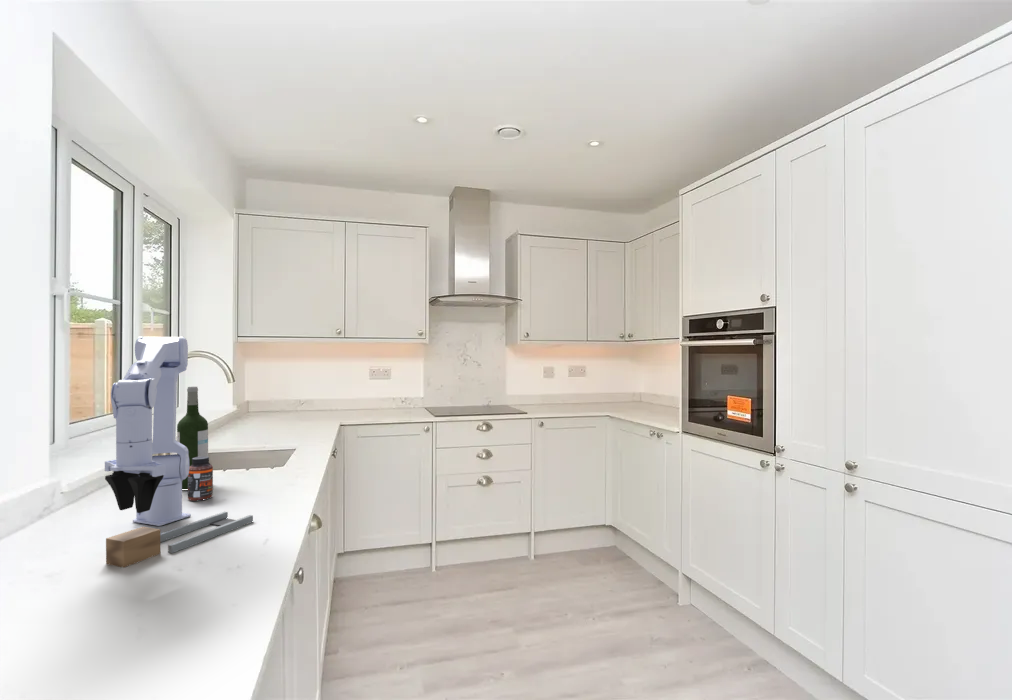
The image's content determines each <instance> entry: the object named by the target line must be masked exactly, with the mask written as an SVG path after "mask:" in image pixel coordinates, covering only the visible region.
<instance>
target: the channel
mask: <svg viewBox="0 0 1012 700" xmlns="http://www.w3.org/2000/svg"><path fill="white" fill-rule="evenodd" d="M228 513H229V511H221V512H219V513H215V514H214V515H210V516H208V517H204V518H201V519H198V520H196V521H193V522H190V523H187V524H184V525H181V526H178V527H175V528H173V529H170V530H166V531H164V532H160V543H162V542H165V541H167V540H171V539H173V538H177V537H179V536H181V535H185V534H187V533H191V532H193V531H195V530H199V529H201V527H202V528H204V527H208V526H209V524H210V526H214V525H216V526H215V527H214V528H211V529H208V530H206V531H203V532H200V533H197V534H194V535H191V536H190V537H189V536H188V537H186V538H183V539H181V540H178V541H175V542H173V543H170V544H168V547H167V548H168V551H167V553H169V554H174V553H176V552H178V551H181V550H184V549H186V548H189V547H191V546H193V545H198V544H199V543H201V542H202V543H203V542H204V540H205V541H208V540H209V539H212V538H215V537H217V535H218V536H220V535H222V533H223V534H226V533H227V531H228V532H230V531H233V530H236V529H238V528H241V527H242V525H243V526H245V525H244V524H246V525H248V524H247V523H249V524H251V523H253V522H254V515H252V514H249V515H248V514H247V515H246V516H244V517H243V516H242V517H240V518H238V519H234V518H233V519H231V518H227V517H229V516H228V515H229V514H228ZM226 518H227V519H226ZM252 521H253V522H252ZM250 522H251V523H250ZM240 526H241V527H240ZM237 527H238V528H237ZM235 528H236V529H235ZM232 529H233V530H232ZM219 534H220V535H219Z"/></svg>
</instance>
